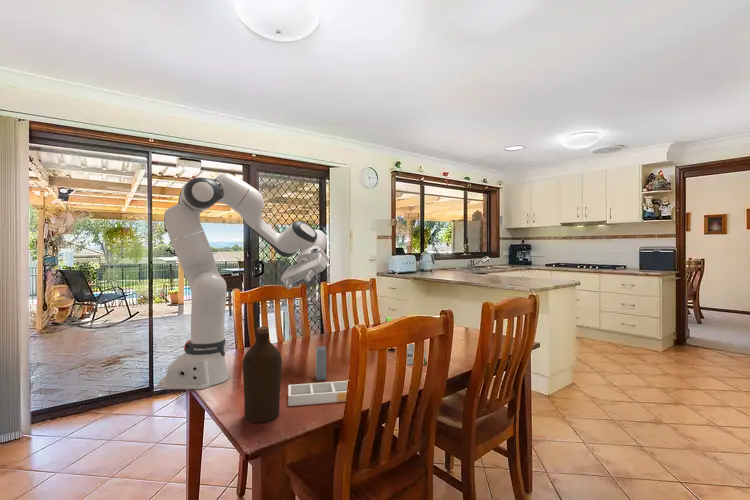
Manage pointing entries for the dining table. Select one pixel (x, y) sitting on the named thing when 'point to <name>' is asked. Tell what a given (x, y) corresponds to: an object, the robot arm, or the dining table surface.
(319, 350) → the dark grey metallic block
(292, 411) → the dining table surface
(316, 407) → the dining table surface
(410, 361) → the ink box
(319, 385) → the rack
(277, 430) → the dining table surface
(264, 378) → the olive oil
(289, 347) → the dining table surface
